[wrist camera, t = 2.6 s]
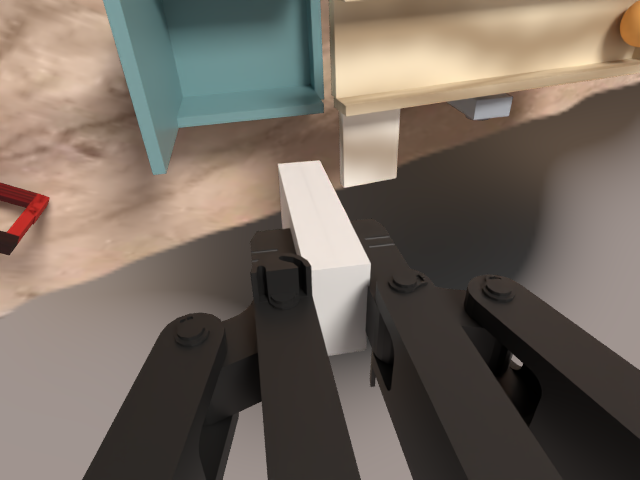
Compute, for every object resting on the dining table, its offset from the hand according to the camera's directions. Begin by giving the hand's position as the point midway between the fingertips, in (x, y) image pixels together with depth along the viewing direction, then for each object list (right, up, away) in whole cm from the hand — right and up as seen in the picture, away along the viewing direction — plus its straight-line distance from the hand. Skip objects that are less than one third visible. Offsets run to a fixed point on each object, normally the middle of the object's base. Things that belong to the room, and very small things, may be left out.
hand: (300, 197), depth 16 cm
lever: (+14, +12, +19) cm, 26 cm away
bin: (-6, +17, +22) cm, 29 cm away
